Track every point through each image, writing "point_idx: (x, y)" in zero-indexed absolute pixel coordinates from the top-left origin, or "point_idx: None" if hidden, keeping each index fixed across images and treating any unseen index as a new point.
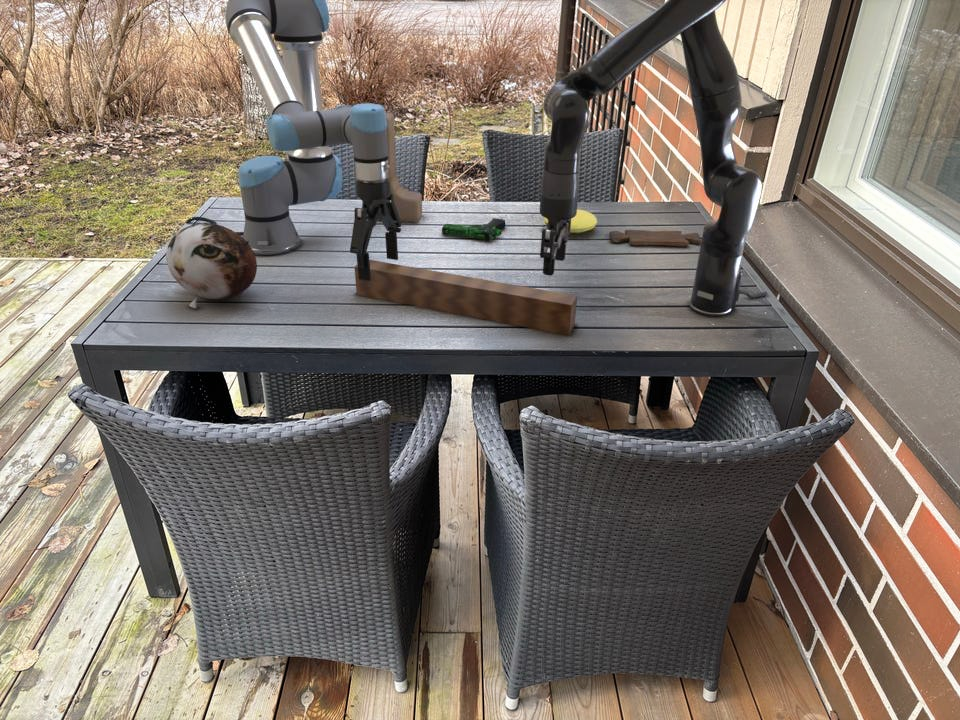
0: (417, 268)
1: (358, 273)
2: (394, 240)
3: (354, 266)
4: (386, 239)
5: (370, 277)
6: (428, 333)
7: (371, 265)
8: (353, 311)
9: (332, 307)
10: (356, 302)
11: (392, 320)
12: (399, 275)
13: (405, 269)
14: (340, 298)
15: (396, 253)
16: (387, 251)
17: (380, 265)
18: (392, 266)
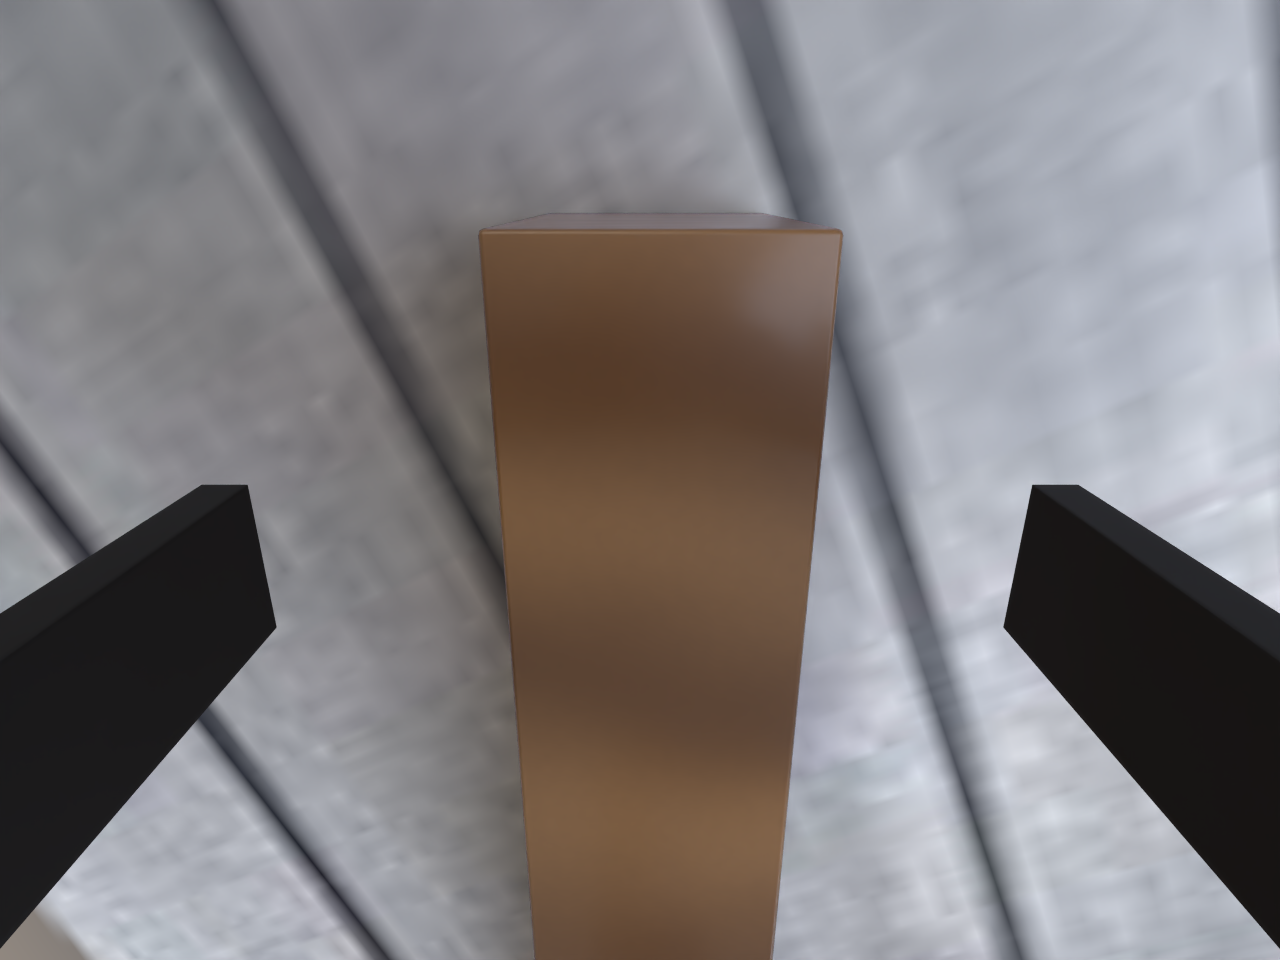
0: (757, 951)
1: (146, 523)
2: (1214, 840)
3: (479, 233)
4: (1270, 676)
5: (252, 646)
6: (272, 934)
7: (624, 469)
8: (238, 371)
9: (183, 129)
10: (402, 303)
11: (290, 705)
12: (527, 854)
13: (681, 869)
14: (396, 90)
15: (1055, 686)
16: (1091, 554)
17: (677, 579)
18: (707, 721)
